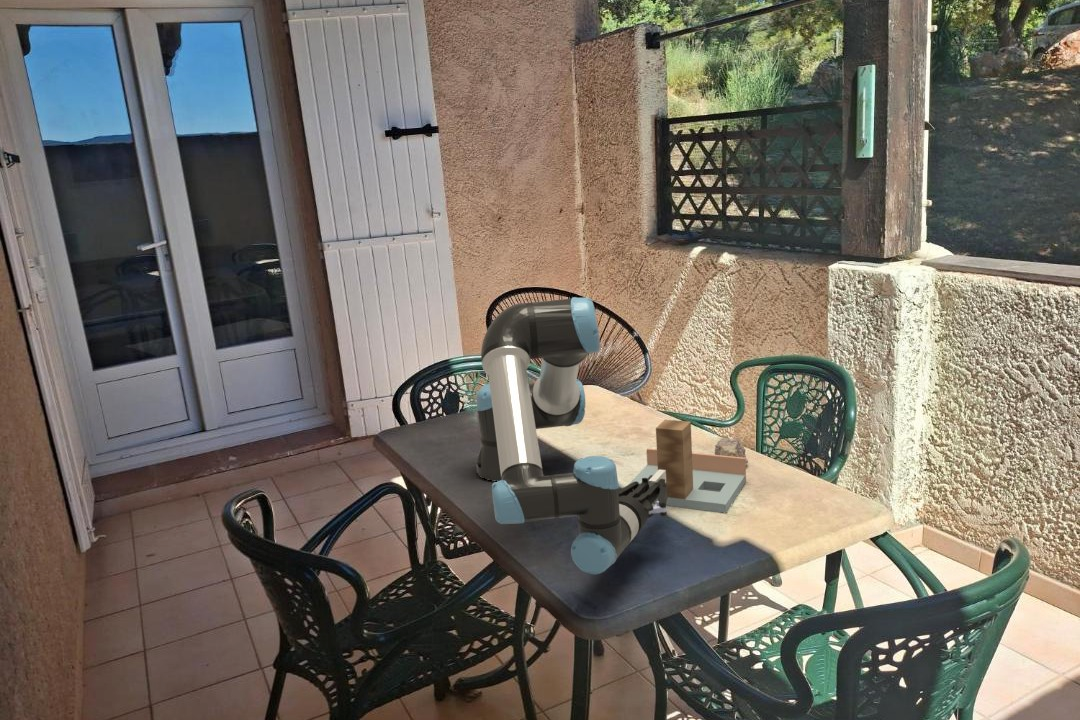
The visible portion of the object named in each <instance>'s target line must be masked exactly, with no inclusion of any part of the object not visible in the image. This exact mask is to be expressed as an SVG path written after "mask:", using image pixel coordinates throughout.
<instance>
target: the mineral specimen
mask: <svg viewBox="0 0 1080 720" xmlns="http://www.w3.org/2000/svg"><path fill="white" fill-rule="evenodd" d="M714 446H715V448H714V455H722V456H732V457H742V458H746V464H748V463H749V460H748V458H747V457H746V448H745V447H744V445H743V444H742V442H741V441H740V440H739V439H738V438H737V439H736V438H728V437H722V438H721V439H719V441H717V443H716V444H715V445H714Z"/></svg>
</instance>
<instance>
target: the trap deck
mask: <svg viewBox="0 0 1080 720" xmlns="http://www.w3.org/2000/svg"><path fill="white" fill-rule="evenodd" d="M746 459H747V457H746V458H742V457H732V456H722V455H715V454H712V453H711V454H709V453H698V452H692V467H693V490H692V491H691V493H690V494H689V495H688V496H687V498H686V499H678V498H670V497H668V498H667V502H666V506H667V505H670V506H669V507H675V506H677V507H676V508H685V509H693V510H698V509H699V511H706V510H707V511H709V512H714V511H716V512H715V513H721V512H725V513H724V514H727V513H728V511H729V509H730V508H731V506H732V505H733V503H734V502H733V501H735V500H736V498H737V497H738V495H739V494H740V492H741V491H742V489H743V488H744V486H745V485H746V482H747V467H746V465H747V463H746ZM646 462H647V463H646V465H645V466H644V467H643V468H642V470H640V472H638V474H636V475H635V477H634V478H633V479H632V480H631V481H630V482H629V483H628V484H627V485H629V484H631V483H632V482H635V481H637V482H638V483H639V484H641V483H642V478H647V479H648V478H652V476H653V475H654V474H655V473H656V472H657V471H658V463H657V448H649V447H648V448H646ZM657 501H658V498H657V499H656V500H655V501H654V503H653V504H652V505H656V502H657ZM731 504H732V505H731ZM729 507H730V508H729Z"/></svg>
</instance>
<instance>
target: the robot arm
mask: <svg viewBox="0 0 1080 720" xmlns="http://www.w3.org/2000/svg"><path fill="white" fill-rule="evenodd" d="M597 321H598V320H597V315H596V309H595V305H594V302H593V300H592V299H590V298H589V297H576V296H574V297H571V298H566V299H565V298H564V299H554V300H553V299H552V300H543V301H533V302H520V303H516V304H513V305H509V307H507V308H505V309H504V310H502V311H501V312H500V313H499V314H498V315H497V316H495V318H494V319H493V321H492V322H491V323H490V324H489V326H488V327H487V329H486V332H485V334H484V337H483V340H482V344H481V349H480V356H481V366H482V370H483V371H484V372H485V374H487V376H488V381H489V383H486V384H485V385H483V386H481V387H480V388H479V389H478V391H477V392H476V411H477V415H478V418H477V419H478V426H479V437H480V447H479V448H480V449H479V452H478V457H477V460H476V461H477V462H476V474H477V473H478V475H479V476H481V477H482V478H485V479H489V480H496V481H497V480H498V481H497V482H495V481H493V483H492V484H491V492H492V502H493V512H494V517H495V518H494V519H495V521H496V522H497V523H499V524H500V525H511V524H512V525H513V524H514V525H515V524H521V525H522V524H524V523H527V522H528V523H529V522H535V521H541V520H550V519H560V518H561V519H562V518H569V517H577V524H578V535H576V537H575V538H574V540H573V542H572V544H571V547H570V555H571V559H572V561H573V563H574V564H575V565H576V567H577V568H579V570H581V571H582V572H583V573H587V574H590V575H599V574H602V573H604V572H605V571H606V570H607V569H608V568H610V567H611V566H613V565H614V564H615V562H616V561H617V560H618V558H619V557H620V555H621V554H622V553H623V552H624V550H625V549H626V548H627V547H628V546H629V544H630V543H631V542H632V540H634V538H636V536H637V535H638V534H639V533H640V532H641V530H642V529H643V528H644V527H645V525H646V523H647V521H648V519H650V518H652V517H653V516H654V514H659V515H660V516H662V517H666V516H667V514H668V513H667V512H668V510H667V509H668V508H667V505H666V502H667V498H668V492H667V485H665V483H666V470H660V469H659V470H658V471H657V472H656V473H655V474H654V475H653V476H652V478H648V479H647V478H642V483H641V484H639V483H638V482H637V481H635V482H632V483H631V484H629V483H628V484H629V485H628V484H627V485H626V486H624V487H622V488H620V484H619V479H618V473H617V472H618V471H617V465H616V463H615V462H614V461H613V460H612V459H611V458H609V457H606V456H602V455H591V456H586V457H584V458H579V459H578V460H576V461H575V462H574V464H573V470H572V472H566V473H558V474H550V475H544V471H543V466H542V465H543V464H542V459H541V453H540V447H539V439H538V434H537V430H540V429H549V428H558V427H571V426H574V425H579V424H580V423H581V422H583V420H584V418H585V414H586V394H585V388H584V385H583V382H582V381H580V379H578V373H579V367H580V364H581V363H582V362H584V360H585V359H586V358H587V356H588V354H589V355H592V354H594V353H598V352H599V351H600V350H601V341H600V333H599V327H598V322H597ZM534 359H541V364H540V374H539V375H540V376H539V377H538V378H537V379H536V380H535V382H533V383H532V382H531V383H529V377H528V370H527V369H528V368H529V366H530V365H531V364H530V363H531V360H534ZM478 475H477V476H478ZM479 476H478V477H479ZM482 478H481V479H482ZM619 488H620V489H619ZM657 498H658V501H657V502H656V504H653V503H654V501H655V500H656V499H657ZM653 505H654V506H653Z"/></svg>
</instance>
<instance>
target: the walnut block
mask: <svg viewBox="0 0 1080 720" xmlns="http://www.w3.org/2000/svg"><path fill="white" fill-rule="evenodd" d="M655 437H656V438H655V439H656V442H655V443H656V449H657V463H658V470H659V469H660V470H666V483H665V485H667V492H668V497H670V498H678V499H686V498H687V496H688V495H689V494H690V493H691V491H692V490H693V467H692V453H693V448H692V447H693V445H692V443H693V442H692V422H691V421H689V420H688V421H687V420H675V419H663V420H662V421H661V422H660V423H659V424H658V426H656V428H655Z"/></svg>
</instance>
